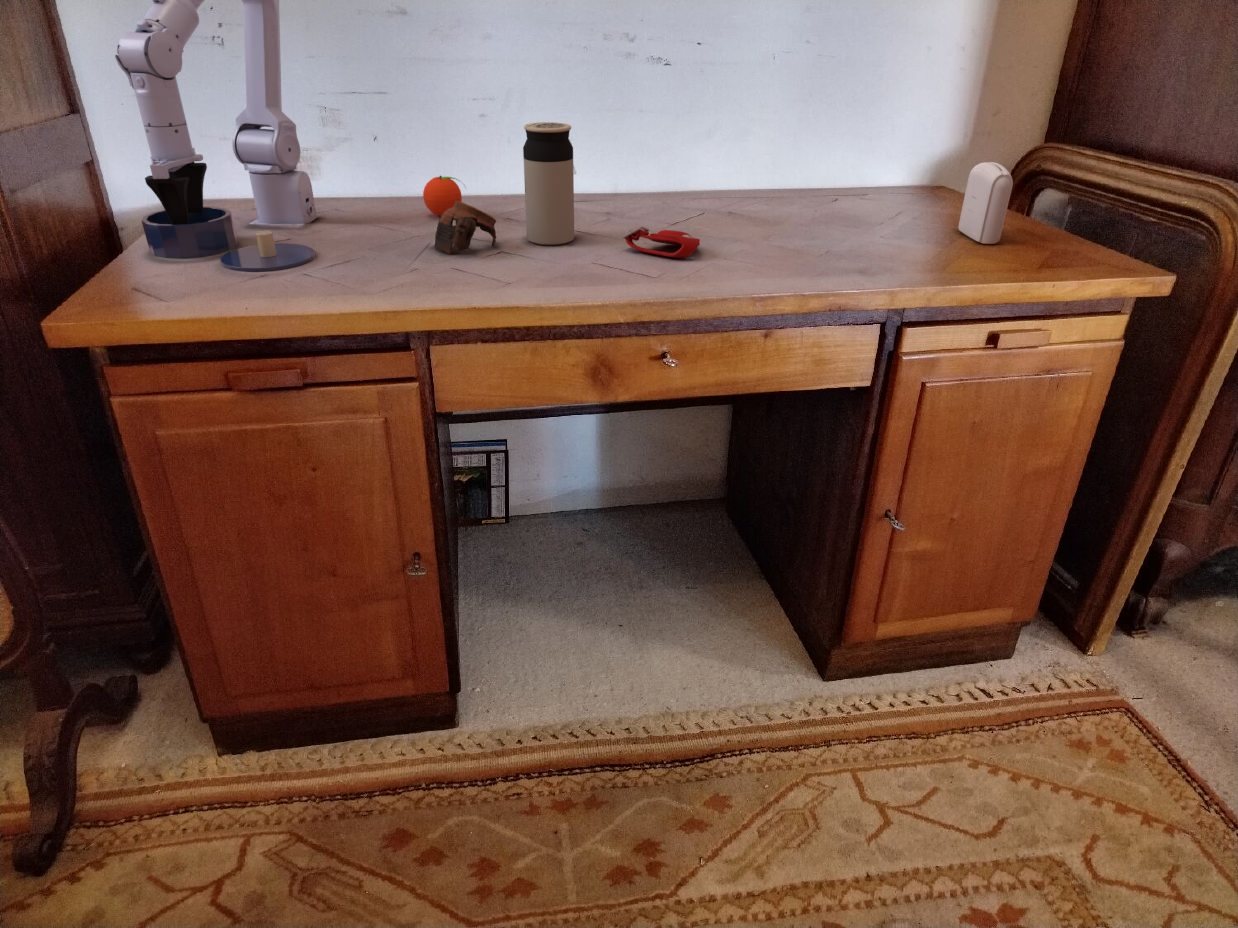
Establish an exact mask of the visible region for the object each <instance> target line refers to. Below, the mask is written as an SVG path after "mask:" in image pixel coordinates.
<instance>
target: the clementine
mask: <svg viewBox="0 0 1238 928" xmlns="http://www.w3.org/2000/svg"><path fill="white" fill-rule="evenodd" d="M454 180H456V181H458V182H461V183H462V181H461V180H460V179H458V178H456V177H453V176H442V175H439V176H435V177H433V178H430V180H429V181H427V183H426V184H425V186H424V188H423V191H422V192H423V193H422V198H423V201H424V204H425V207H426V208H427V209H428V210H429V211H430V212H431V213H432V214H434V215H436V216H439V217H441V216H442V214H443V213H444V212H445V211H446V210H448V209H450V208H452V207H453V206H454V203H455V201H459V202H462V199H463V197H462V196H463V194H462V191H461V188H460V187H459V185H458V183H456V182H455V181H454ZM463 186H464V188H465V190H467V187H466V185H465V184H463Z"/></svg>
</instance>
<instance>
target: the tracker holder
mask: <svg viewBox="0 0 1238 928" xmlns="http://www.w3.org/2000/svg"><path fill="white" fill-rule="evenodd" d="M649 231H650V229H649V228H647V227H646V226H643V225H640V226H638V227H636V228H634V229H631V230H629V231H628V232H627V233H625V234H623V235H621V238H622V239H624V240H625V242H626V244H627V245H628V246H629V247H630V248H632V249H634V250H637V251H639V252H643V253H647V254H652V255H657V256H658V255H659V256H664V257H669V258H677V259H686V258H688V257H690V256H691V255H693V253H695V251H696V250H697V248H698V247H699V246H700V244H701V243H700V242H701V239H700V238H696V237H693V236H692V235H691V234H689V233H688V232H685V231H681V230H677V229H663V230H660V231H658V232H657V233H655V232H654V233H652V232H651V233H650V232H649ZM640 238H643V239H647V240H649V241H651V242H655V243H659V244H665V245H672V246H680V248H679V249H678V250H676V251H675V252H665V251H660V250H654V249H649V248H644V247H642V246H639V245H637V244H635V242H634V241H639V240H640Z"/></svg>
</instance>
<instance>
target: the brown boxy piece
mask: <svg viewBox="0 0 1238 928" xmlns="http://www.w3.org/2000/svg"><path fill="white" fill-rule="evenodd" d="M454 221H455V225H453V224H454ZM496 223H497V220H496V219H495V218H494V217H493V216H491V215H489V214H488V213H486V212H485V211H482V210H481V209H478V208H476V207H474V206H473V205H470V204H467V203H465V202H462V201H461V202H459V201H455V203H454V206H453V207H452V208H450V209H448V210H446V211H445V212H444V213H443V214H442V216H440V218H439V220H438V222H437V226H436V231H435V235H434V245H433V247H434V248H436V249H437V250H439V251H441V252H443V253H446V254H448V255H451V254H452V247H453V246H454V248H455V249H457V250H458V251H465V250H469V249H470V246H471V241H472V238H473V236H474V234H475V232H476V230H477V228H479V229H480V230H481V231H483V232H485V233H488V234H489V235H490V236H491V237H492V241H491V247H492V248H494V246H495V245H496V241H497V231H496V228H495V225H496Z"/></svg>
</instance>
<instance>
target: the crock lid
mask: <svg viewBox="0 0 1238 928" xmlns="http://www.w3.org/2000/svg"><path fill="white" fill-rule="evenodd" d="M255 239H256V244H255V245H248V246H243V247H240V248H236V249H232V250H230V251H227V252H225V253H224V254H223V255H222V256H221V257H220V258H219V259H220V264H221V266H223V268H226V269H229V270H233V271H239V272H271V271H280V270H286V269H291V268H295V267H299V266H302V265H304V264H307V263H309V262H311V261H312V260H314V259H315V257H316V252H315V250H314V249H313V248H312V247H310V246H307V245H303V244H298V243H285V242H283V243H280V242H279V243H277V242H275V238H274V234H273V231H272V230H259V231H256V232H255Z"/></svg>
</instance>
